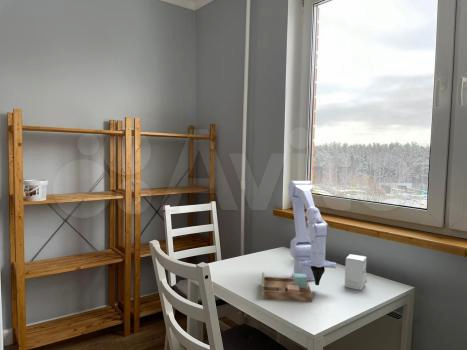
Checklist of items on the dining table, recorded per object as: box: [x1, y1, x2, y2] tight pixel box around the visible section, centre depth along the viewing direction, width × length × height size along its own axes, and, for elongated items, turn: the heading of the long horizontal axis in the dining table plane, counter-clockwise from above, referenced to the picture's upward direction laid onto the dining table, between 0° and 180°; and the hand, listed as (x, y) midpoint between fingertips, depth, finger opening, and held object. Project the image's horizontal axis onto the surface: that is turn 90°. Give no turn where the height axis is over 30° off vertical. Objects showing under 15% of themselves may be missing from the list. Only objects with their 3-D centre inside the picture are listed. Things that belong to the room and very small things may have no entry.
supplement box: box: [343, 253, 367, 291], centre depth 150 cm, size 7×7×13 cm
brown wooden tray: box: [260, 272, 314, 303], centre depth 143 cm, size 20×15×5 cm
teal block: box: [293, 272, 307, 288], centre depth 145 cm, size 5×5×4 cm
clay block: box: [287, 285, 300, 292], centre depth 139 cm, size 4×4×4 cm
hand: (316, 284), depth 145 cm, fingers closed
